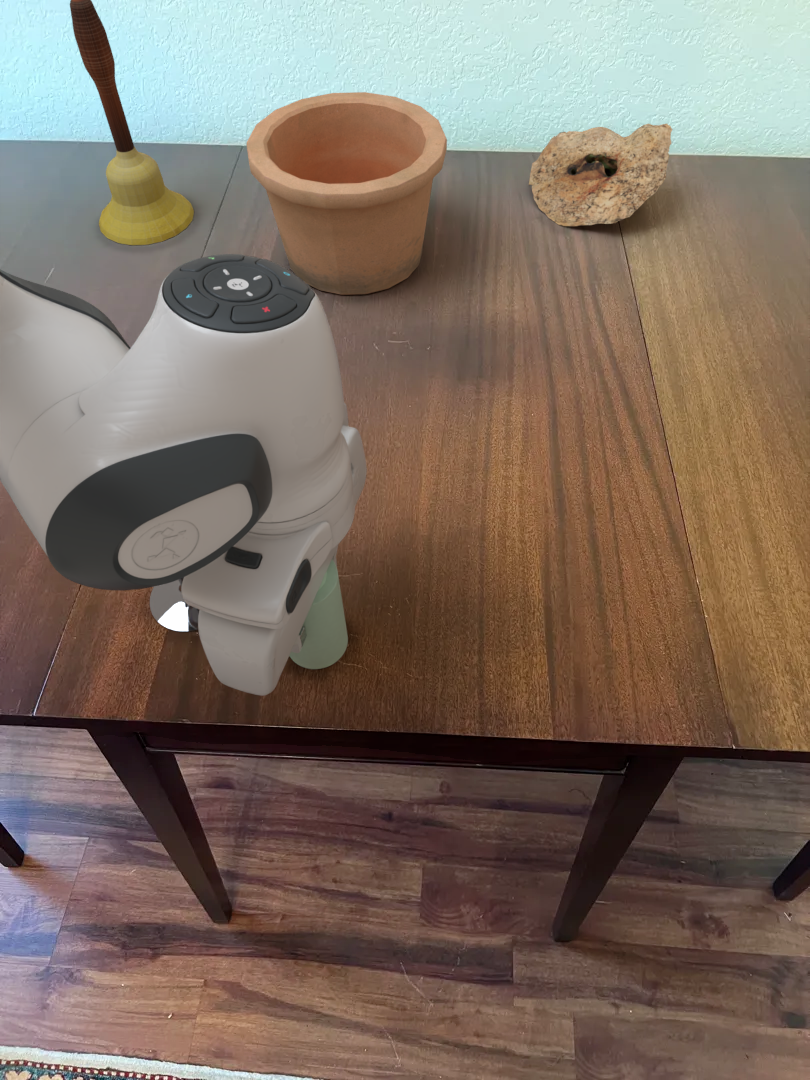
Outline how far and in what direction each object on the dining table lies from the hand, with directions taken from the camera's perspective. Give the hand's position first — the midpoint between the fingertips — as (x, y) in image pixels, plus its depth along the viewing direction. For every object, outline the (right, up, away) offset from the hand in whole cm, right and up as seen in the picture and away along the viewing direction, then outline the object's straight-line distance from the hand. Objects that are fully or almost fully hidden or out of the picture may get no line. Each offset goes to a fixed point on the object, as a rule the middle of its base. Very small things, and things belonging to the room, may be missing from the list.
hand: (309, 607), depth 61 cm
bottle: (0, -3, +5) cm, 6 cm away
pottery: (+1, +41, +36) cm, 54 cm away
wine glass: (-11, 0, +7) cm, 14 cm away
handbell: (-26, +47, +42) cm, 68 cm away
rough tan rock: (+32, +49, +42) cm, 72 cm away
